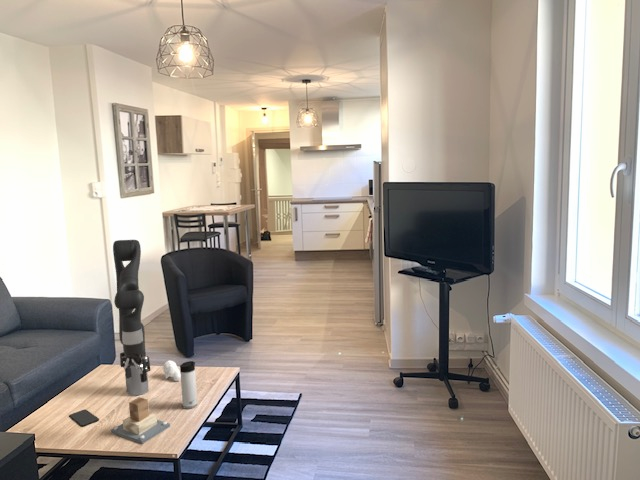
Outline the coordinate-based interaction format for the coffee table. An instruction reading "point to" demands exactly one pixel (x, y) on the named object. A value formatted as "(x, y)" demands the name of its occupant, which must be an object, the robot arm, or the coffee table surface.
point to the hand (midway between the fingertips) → (136, 379)
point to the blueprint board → (145, 435)
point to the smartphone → (83, 418)
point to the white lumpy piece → (171, 370)
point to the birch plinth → (140, 424)
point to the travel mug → (188, 384)
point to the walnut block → (139, 409)
